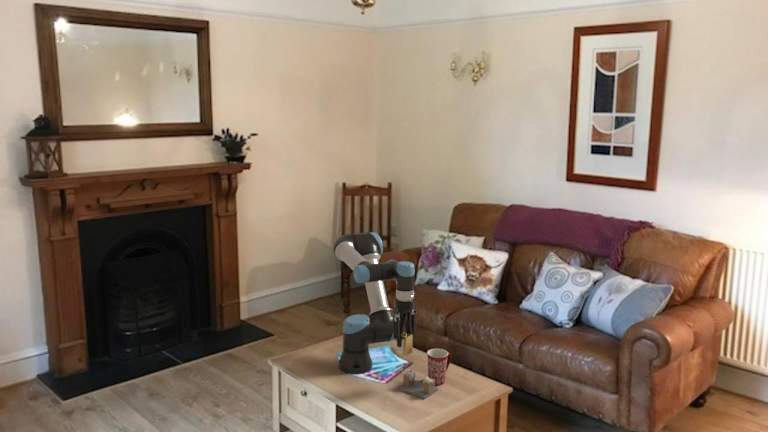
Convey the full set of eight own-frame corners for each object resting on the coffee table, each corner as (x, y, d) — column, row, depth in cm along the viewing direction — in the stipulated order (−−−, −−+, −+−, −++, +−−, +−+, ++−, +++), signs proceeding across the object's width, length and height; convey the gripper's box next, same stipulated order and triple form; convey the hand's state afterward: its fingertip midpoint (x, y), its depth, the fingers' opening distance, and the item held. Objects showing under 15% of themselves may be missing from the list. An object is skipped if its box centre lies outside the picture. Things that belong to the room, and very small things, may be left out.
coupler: (396, 352, 270) (396, 334, 268) (403, 349, 273) (403, 331, 272) (405, 355, 267) (406, 336, 265) (412, 352, 270) (412, 333, 269)
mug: (436, 388, 271) (437, 359, 268) (421, 380, 278) (422, 351, 275) (457, 380, 279) (458, 351, 276) (442, 372, 286) (443, 344, 283)
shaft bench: (399, 389, 269) (399, 374, 268) (412, 381, 277) (413, 366, 276) (424, 399, 262) (425, 383, 260) (438, 390, 269) (438, 375, 268)
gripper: (399, 305, 257) (398, 360, 261) (424, 295, 270) (423, 347, 274) (384, 301, 262) (384, 355, 266) (410, 292, 275) (409, 343, 279)
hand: (404, 351), depth 270 cm, fingers closed on coupler, 4 cm apart
